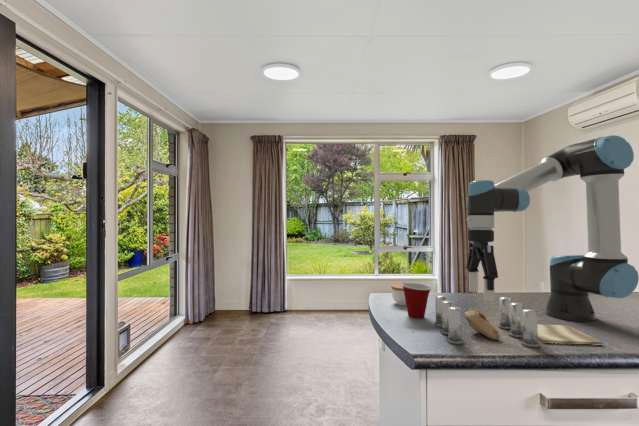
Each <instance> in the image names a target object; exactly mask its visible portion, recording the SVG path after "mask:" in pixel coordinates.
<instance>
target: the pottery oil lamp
mask: <svg viewBox="0 0 639 426" xmlns="http://www.w3.org/2000/svg"><path fill="white" fill-rule="evenodd" d="M464 317H465V319H466V321H467V323H468V325H469V327H470V328H471V329H473V331H475V332H477V333H479V334H482V335H483V336H484V337H486V338H488V339H490V340H493V341H498V340H499V339H500V337H501V334H500V332H499V331H498V330H497V329H496V327H495V326H494V324H493V323H492V322H491V320H490V319H489V318H488V317H487V316H486V315H485V314H484V313H482V312H480V311H477V310H474V309H472V308H470V309H469V310H468V311H465V312H464Z"/></svg>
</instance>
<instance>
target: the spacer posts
mask: <svg viewBox="0 0 639 426" xmlns="http://www.w3.org/2000/svg"><path fill="white" fill-rule="evenodd" d="M512 299H513V298H512V297H509V296H500V297H499V302H498V303H499V323H498V326H497V327H498V328H499V329H501V330H506V331H509V332H508V335H509V337H512V338H515V339H522V340H521V343H520V344H521V345H522V346H524V347H526V348H529V349H539V348H540V343H539V342H538V341H539V340H538V333H537V324H538V310H536V309H532V308H531V309H530V308H524V304H523V303H522V302H515V301H514V302H513V301H512ZM454 304H455V303H454V301H451V300H448V296H446V295H441V294H440V295H435V321H434V327H437V328H441V329H440V330H439V331H440V334H441V335H444V336H447V338H446V343H448V344H449V345H455V346H461V345H463V344H464V340H463V338H462V333H463V332H462V307H458V306H454Z"/></svg>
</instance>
